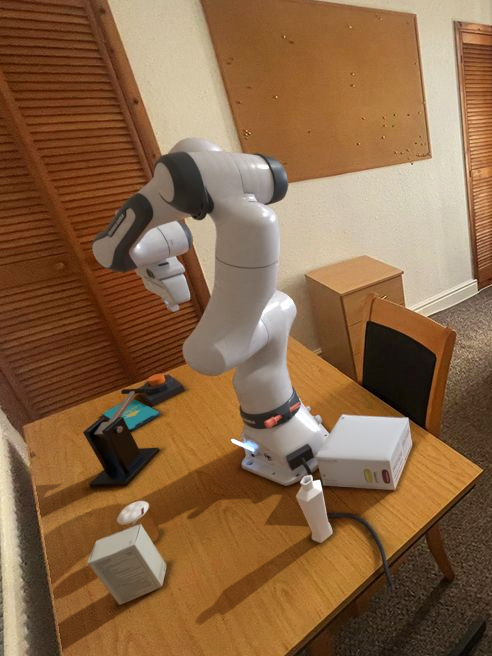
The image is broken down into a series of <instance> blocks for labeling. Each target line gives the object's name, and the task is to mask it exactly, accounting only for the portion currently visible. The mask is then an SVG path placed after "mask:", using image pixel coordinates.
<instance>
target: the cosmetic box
mask: <svg viewBox="0 0 492 656" xmlns="http://www.w3.org/2000/svg"><path fill="white" fill-rule="evenodd" d="M87 564H88V566H89V567H90V568H91V570H92V571H93V572H94V574H96V576H97V578H98V580H100V581H101V583H102V584H103V585H104V587H105V588H106V589H107V591H108V593H110V595H111V596H112V597H113V598H114V600H115V601H116V603H117V604H118V605H120V606H121V605H123V604H125V603H128V602H130V601H132V600H135V599H137V598H139V597H142V596H144V595H146V594H149V593H151V592H153V591H155V590H158V589H160V588H161V587H163V584H164V579H165V576H166V571H167V567H168V566H167V563H166V562H165V560H164V558H163V557H162V555H161V553H160V552H159V550H158V548H157V547H156V545H155V544H154V543H153V542H152V541H151V539H150V538H149V536H148V535H147V533H146V531H145V530H144V528H143V527H142V525H141V524H139V525H136V526H133V527H131V528H128V529H125V530H124V529H122V530H121V531H117V532H115V533H113V534H110V535H107V536H105V537H102V538H99V539H97V540H96V541H95V544H94V546H93V548H92V551H91V553H90V555H89V558H88V560H87Z"/></svg>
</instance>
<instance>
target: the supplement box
mask: <svg viewBox="0 0 492 656" xmlns="http://www.w3.org/2000/svg"><path fill="white" fill-rule="evenodd" d="M412 447H413V441H412V434H411V427H410V421H409V417H402V416H400V417H399V416H379V415H377V416H375V415H358V414H357V415H355V414H354V415H353V414H341V416H340V417H339V418H338V420H337V421H336V423H335V425H334V426H333V428H332V429H331V431H330V432H329V436H328V437H327V439H326V441H325V442H324V444H323V445H322V447H321V448H320V450H319V451H318V453H317V455H316V460H317V464H318V467H319V468H318V471H319V475H320V478H321V482H322V486H324V487H325V486H328V487H342V488H343V487H344V488H356V489H357V488H358V489H371V490H372V489H374V490H384V491H385V490H386V491H387V490H388V491H395V490H396V488H397V486H398V483H399V481H400V478H401V475H402V472H403V470H404V467H405V466H406V462H407V460H408V457H409V455H410V452H411V449H412Z"/></svg>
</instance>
